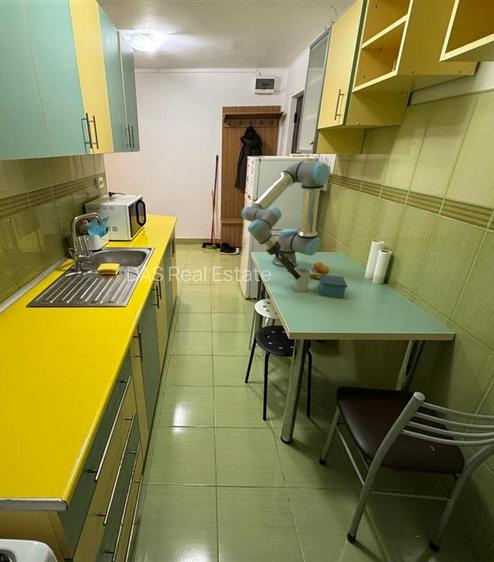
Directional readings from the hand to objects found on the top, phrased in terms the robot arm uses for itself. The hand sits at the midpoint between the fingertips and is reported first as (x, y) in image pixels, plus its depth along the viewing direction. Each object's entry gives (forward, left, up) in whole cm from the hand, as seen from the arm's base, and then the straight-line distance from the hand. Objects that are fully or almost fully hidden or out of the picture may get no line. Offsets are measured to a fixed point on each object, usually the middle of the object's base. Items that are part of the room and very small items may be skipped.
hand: (295, 273), depth 164 cm
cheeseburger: (-22, +15, -9) cm, 28 cm away
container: (-2, +20, -9) cm, 22 cm away
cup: (-1, +4, -9) cm, 10 cm away
